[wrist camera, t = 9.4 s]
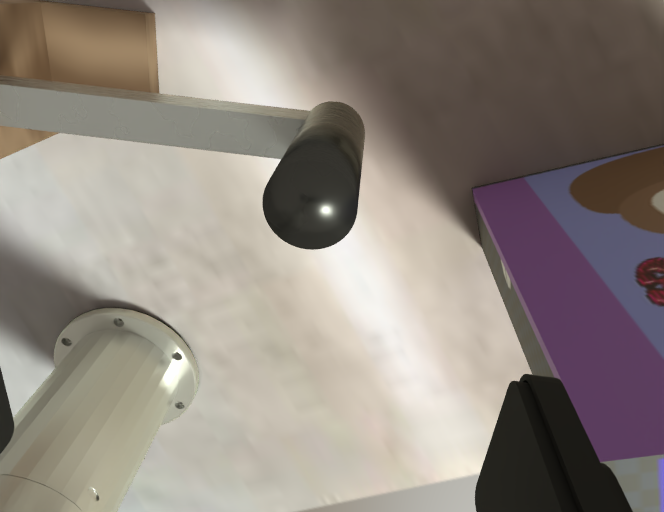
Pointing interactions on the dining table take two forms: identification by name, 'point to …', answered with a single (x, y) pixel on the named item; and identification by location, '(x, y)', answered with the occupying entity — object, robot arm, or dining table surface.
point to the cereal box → (591, 298)
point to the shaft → (219, 143)
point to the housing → (74, 51)
